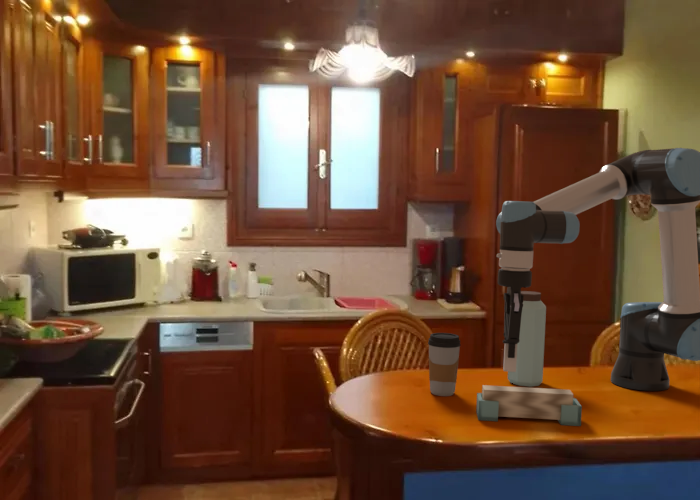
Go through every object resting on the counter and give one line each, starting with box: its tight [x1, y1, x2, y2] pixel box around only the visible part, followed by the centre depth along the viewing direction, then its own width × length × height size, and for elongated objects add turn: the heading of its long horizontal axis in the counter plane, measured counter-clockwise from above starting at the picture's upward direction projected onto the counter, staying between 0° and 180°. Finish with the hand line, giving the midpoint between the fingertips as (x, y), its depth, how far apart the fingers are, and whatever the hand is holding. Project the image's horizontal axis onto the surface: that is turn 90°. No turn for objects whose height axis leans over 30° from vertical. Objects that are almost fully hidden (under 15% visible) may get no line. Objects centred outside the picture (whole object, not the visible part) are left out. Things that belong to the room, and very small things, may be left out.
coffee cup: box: [427, 332, 461, 397], centre depth 186 cm, size 8×8×15 cm
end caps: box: [475, 392, 583, 427], centre depth 167 cm, size 23×7×4 cm, turn 84°
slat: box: [481, 384, 574, 421], centre depth 167 cm, size 20×4×6 cm, turn 84°
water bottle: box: [507, 290, 547, 388], centre depth 198 cm, size 10×10×25 cm
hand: (509, 370), depth 166 cm, fingers closed
